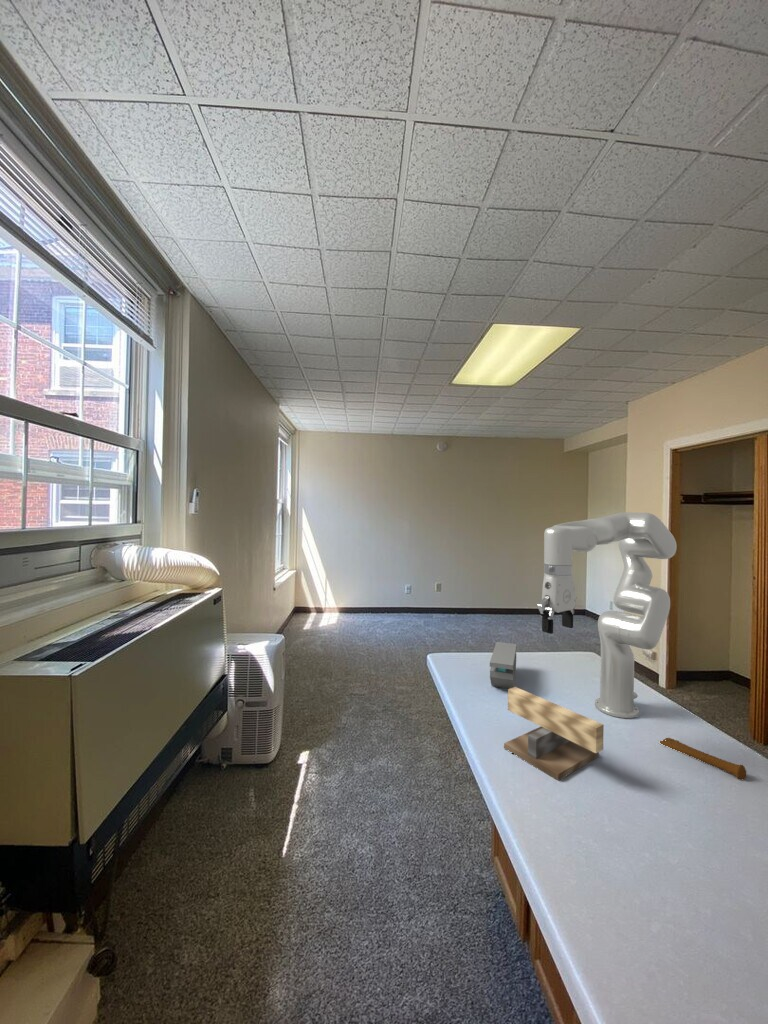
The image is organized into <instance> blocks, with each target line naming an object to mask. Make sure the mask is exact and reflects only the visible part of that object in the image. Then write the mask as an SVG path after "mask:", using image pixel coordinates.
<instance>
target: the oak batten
mask: <svg viewBox="0 0 768 1024" xmlns="http://www.w3.org/2000/svg"><path fill="white" fill-rule="evenodd" d="M507 710H508V711H509V712H511V713H512V714H516V715H517V716H519V717H521V718H523V719H525V720H527V721H530V722H532V723H533V724H535V725H537V726H539V727H543V728H545V729H547V730H549V731H551V732H553V733H555V734H557V735H560V736H562V737H564V738H566V739H568V740H570V741H572V742H574V743H576V744H578V745H580V746H582V747H584V748H586V749H588V750H590V751H592V752H594V753H598V752H599V753H600V752H601V751H603V750H604V730H605V729H604V724H603V723H601V722H599V721H596V720H594V719H592V718H589V717H588V716H585V715H582V714H579V713H577V712H576V711H573V710H570V709H568V708H565V707H563V706H561V705H559V704H556V703H554V702H551V701H549V700H547V699H545V698H543V697H540V696H539V695H538V696H537V695H535V694H534V693H531V692H528V691H527V690H524V689H522V688H519V687H517V686H514V687H513V688H510V689H509V688H507Z"/></svg>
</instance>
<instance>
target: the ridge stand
mask: <svg viewBox="0 0 768 1024" xmlns="http://www.w3.org/2000/svg"><path fill="white" fill-rule="evenodd" d="M503 748H505V749H506V751H507V750H509V751H510V752H512V753H514V754H515V755H517V756H518V757H517V756H516V757H517V758H519V757H520V758H522V759H523V760H522V759H521V760H522V761H524V760H525V761H524V762H526V761H527V762H528V763H527V762H526V763H527V764H528V765H531V766H532V765H533V766H532V767H534V768H536V769H537V768H538V769H537V770H539V771H541V772H543V773H544V774H546V775H548V776H549V777H551V778H553V779H555V780H556V781H560V780H561V778H562V779H563V778H565V777H567V776H568V775H571V774H572V773H573V772H575V771H577V770H578V769H580V768H582V767H583V766H585V765H586V764H588V763H591V762H592V761H593V760H595V759H597V758H598V757H599V756H600V751H599V752H598V753H594V752H592V751H590V750H588V749H586V748H584V747H582V746H580V745H578V744H576V743H574V742H572V741H570V740H568V739H566V738H564V737H562V736H560V735H557V734H555V733H553V732H551V731H549V730H547V729H545V728H543V727H541V726H539V727H537V728H535V729H532V730H530V731H528V732H525V733H523V734H522V735H519V736H517V737H515V738H513V739H510V740H508V741H506V742H504V743H503ZM505 749H504V750H505ZM509 751H508V752H509ZM510 752H509V753H510ZM512 753H511V754H512ZM514 754H513V755H514ZM515 755H514V756H515ZM520 758H519V759H520ZM566 775H567V776H566Z"/></svg>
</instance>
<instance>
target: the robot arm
mask: <svg viewBox="0 0 768 1024" xmlns="http://www.w3.org/2000/svg"><path fill="white" fill-rule="evenodd" d="M543 533H544V535H543V537H544V538H543V539H544V540H543V546H544V547H543V548H544V549H543V557H544V558H543V580H542V581H543V582H542V589H541V592H542V594H541V600H540V601H539V603H537V608H538V613H539V614H540V618H541V631H542V633H546V634H550V635H553V633H554V618H553V617H554V614H555V613H561V626H562V627H565V628H569V629H573V628H574V614H575V608H576V603H577V597H576V586H575V585H576V584H575V580H574V575H573V553H574V552H575V553H588V552H590V551H592V550H595V548H596V546H600V545H601V546H602V545H609V544H614V543H616V542H618V548H619V552H620V555H621V559H622V562H623V571H622V573H621V577H620V579H619V582H618V584H617V587H616V588H615V592H614V595H613V600H612V601H613V604H614V606H615V608H617V609H619V610H620V611H617V610H605V611H603V612H601V614H600V615H599V617H598V620H597V629H598V635H599V641H600V686H599V688H600V689H599V691H600V692H599V695H600V696H599V697H598V698H596V699H595V700H594V705H595V708H596V709H597V710H598V711H600V712H602V713H604V714H606V715H609V716H611V717H616V718H622V719H633V718H637V717H639V715H640V709H639V707H638V706H637V705H636V704H634V702H635V699H637V698H638V697H639V696H638V693H636V691H635V656H634V652H633V650H632V648H631V647H636V648H638V649H641V650H647V651H648V650H653V649H654V648H656V647H657V646H658V644H659V642H660V640H661V636H662V633H663V631H664V627H665V625H666V622H667V619H668V616H669V614H670V610H671V597H670V595H669V593H668V592H667V591H666V590H665V589H663V588H662V587H657V586H654V585H653V586H651V582H652V579H653V573H652V569H651V568H650V566H649V565H648V563H647V562H646V561H645V558H646V559H657V560H668V559H671V558H672V557H674V556H675V555H676V552H677V550H678V549H677V545H678V544H677V541H676V539H675V538H676V537H674V535H673V534H672V533H671V532H670V530H669V528H668V527H667V526H666V525H665V523H664V522H663V521H662V520H661V519H660V518H659V517H658V516H656V515H655V514H653V513H650V512H621V513H620V512H619V513H615V514H611V515H606V516H601V517H596V518H589V519H583V520H575V521H569V522H564V523H563V522H562V523H559V524H555V525H552V527H547V528H546V529H545V530H544V532H543ZM623 611H624V612H623ZM548 612H549V613H548ZM636 614H637V615H636ZM552 618H553V619H552Z"/></svg>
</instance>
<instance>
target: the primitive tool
mask: <svg viewBox="0 0 768 1024" xmlns="http://www.w3.org/2000/svg"><path fill="white" fill-rule="evenodd" d="M662 740H663V741H661V740H659V741H660V743H661V744H663V745H665V746H664V747H666V746H668V747H670V748H672V749H671V750H673V749H675V750H677V751H676V752H678V751H680V752H682V753H681V754H683V753H685V754H687V755H689V756H688V757H690V756H692V757H694V758H696V759H695V760H697V759H699V760H701V761H700V762H702V761H703V762H702V763H704V762H705V763H704V764H706V763H707V765H709V764H710V765H709V766H711V765H712V766H711V767H714V766H715V768H716V767H717V768H716V769H718V768H719V770H721V771H723V770H724V771H723V772H725V771H726V773H729V774H730V775H732V776H734V777H735V778H736V777H737V778H736V779H738V780H739V779H740V780H739V781H743V780H746V778H747V769H746V768H745V766H744V764H736V763H733V762H731V761H727V760H726V759H722V758H719V757H718V756H715V755H711V754H709V753H708V752H707V753H706V752H704V751H701V750H700V749H696V748H694V747H691V746H689V745H687V744H685V743H682V742H680V741H679V740H677V739H674V738H671V737H666V738H665V739H664V738H663V739H662ZM665 740H666V741H665ZM661 744H660V745H661ZM663 745H662V746H663ZM668 747H667V748H668ZM670 748H669V749H670ZM675 750H674V751H675ZM680 752H679V753H680ZM685 754H684V755H685ZM687 755H686V756H687ZM692 757H691V758H692ZM694 758H693V759H694ZM699 760H698V761H699ZM742 779H743V780H742Z"/></svg>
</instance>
